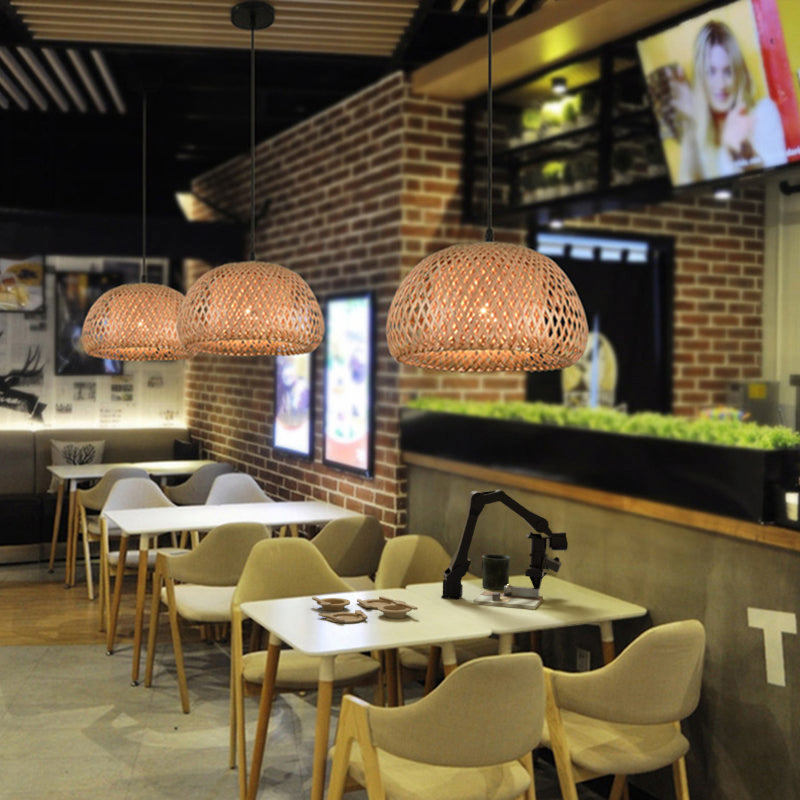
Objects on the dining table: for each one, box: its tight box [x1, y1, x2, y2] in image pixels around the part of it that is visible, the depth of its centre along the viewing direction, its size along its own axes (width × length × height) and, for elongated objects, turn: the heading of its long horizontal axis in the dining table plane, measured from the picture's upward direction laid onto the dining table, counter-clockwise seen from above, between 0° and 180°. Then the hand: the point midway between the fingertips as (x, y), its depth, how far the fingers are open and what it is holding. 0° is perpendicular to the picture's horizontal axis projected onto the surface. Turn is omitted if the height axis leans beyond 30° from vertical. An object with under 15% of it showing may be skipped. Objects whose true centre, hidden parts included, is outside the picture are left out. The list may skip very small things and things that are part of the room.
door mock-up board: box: [473, 590, 544, 610], centre depth 372 cm, size 22×18×4 cm
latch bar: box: [503, 583, 540, 598], centre depth 376 cm, size 13×4×4 cm, turn 73°
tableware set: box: [311, 595, 418, 624], centre depth 349 cm, size 35×29×4 cm
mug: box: [481, 553, 511, 590], centre depth 399 cm, size 11×15×12 cm
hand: (537, 592), depth 381 cm, fingers closed
